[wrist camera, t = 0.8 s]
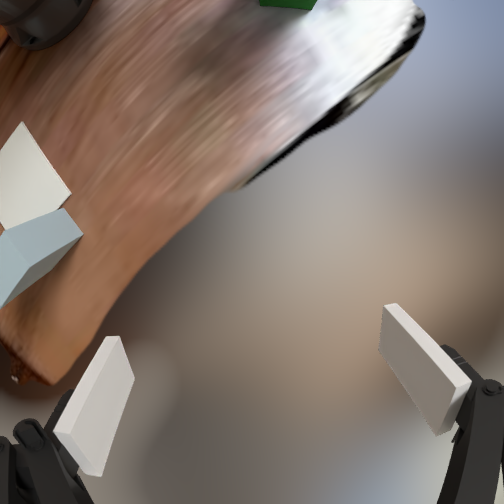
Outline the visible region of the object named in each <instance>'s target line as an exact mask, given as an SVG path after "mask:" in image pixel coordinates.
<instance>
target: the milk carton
mask: <svg viewBox="0 0 504 504" xmlns="http://www.w3.org/2000/svg"><path fill="white" fill-rule="evenodd" d="M259 2H260V6H273V7H288V8H298V9H308V10H312V8H313V7H314V5H315V3H316V2H317V0H259Z"/></svg>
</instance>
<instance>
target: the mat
mask: <svg viewBox="0 0 504 504" xmlns="http://www.w3.org/2000/svg"><path fill="white" fill-rule="evenodd" d="M71 194H72V193H71V192H70V190H69V189H68V188H67V186H66V185H65V184H64V182H63V181H62V179H61V178H60V177H59V175H58V174H57V172H56V171H55V169H54V168H53V167H52V165H51V164H50V162H49V161H48V159H47V158H46V156H45V155H44V153H43V152H42V150H41V149H40V147H39V146H38V144H37V143H36V141H35V140H34V138H33V137H32V135H31V133H30V132H29V130H28V129H27V127H26V125H25V124H24V122H23V121H22V122H21V123H20V124H19V126H18V127H17V128H16V129H15V131H14V132H13V134H12V135H11V136H10V138H9V139H8V140H7V142H6V143H5V145H4V146H3V148H2V149H1V151H0V222H1V224H2V226H3V227H4V229H5V230H7V229H10V228H12V227H14V226H17V225H19V224H22V223H24V222H27V221H29V220H32V219H35V218H37V217H40V216H42V215H45V214H48V213H50V212H53V211H56V210H58V209H59V207H60V206H61V205H62V204H63V203H64V202H65V201H66V199H67V198H68V197H69V196H70V195H71Z"/></svg>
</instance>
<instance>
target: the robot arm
mask: <svg viewBox="0 0 504 504" xmlns="http://www.w3.org/2000/svg"><path fill="white" fill-rule="evenodd" d="M91 3H92V0H0V25H2V26H3V27H4V28H5V30H6V31H7V33H8V34H9V36H10V37H11V39H12V40H13V41H14V43H16V44H17V45H18V46H20V47H23V48H25V49H27V50H33V51H34V50H41V49H45V48H47V47H50V46H52V45H54V44H55V43H57V42H59V41H60V40H62V39H63V38H64V37H65V36H67V35H68V34H69V33H70V32H71V31H72V30H73V29H74V28H75V27H76V26H77V25H78V24H79V23H80V21H81V20H82V19H83V17H84V16H85V15H86V13H87V11H88V9H89V8H90V6H91ZM378 350H379V352H380V353H381V354H382V356H383V358H384V359H385V360H386V362H387V363H388V365H389V366H390V368H391V369H392V371H393V372H394V373H395V375H396V376H397V378H398V379H399V381H400V382H401V384H402V385H403V387H404V388H405V390H406V391H407V393H408V394H409V396H410V397H411V399H412V400H413V402H414V403H415V405H416V406H417V408H418V409H419V411H420V412H421V414H422V415H423V417H424V419H425V420H426V422H427V423H428V425H429V426H430V428H431V429H432V431H433V433H434V434H435V435H436V436H438V435H441V434H443V433H445V432H447V431H450V430H451V428H452V426H453V424H454V422H455V421H456V422H457V423H458V425H459V428H458V430H457V432H456V434H455V436H454V438H453V440H452V443H453V442H454V441H455V442H454V447H453V451H452V455H451V459H450V462H449V466H448V470H447V473H446V477H445V480H444V483H443V486H442V490H441V493H440V496H439V498H438V501H437V504H494V500H495V494H496V490H497V484H498V478H499V472H500V464H501V465H502V474H503V485H504V386H502V385H501V383H499V382H497V381H495V380H492V379H486V380H484V379H483V378H482V377H481V376H480V375H479V374H478V373H477V372H476V371H475V370H474V369H473V368H472V367H471V366H470V365H469V364H468V363H467V362H466V361H465V360H464V359H463V358H462V357H461V356H460V355H459V354H458V353H457V351H456V350H455V349H453V348H451V347H449V346H447V345H442V346H438V344H437V343H436V342H435V341H434V340H433V339H432V338H431V337H430V336H429V335H428V334H427V333H426V332H425V331H424V330H423V329H422V328H421V327H420V326H419V325H418V324H417V323H416V322H415V321H414V320H413V319H412V318H411V317H410V316H409V315H408V314H407V313H406V312H405V311H404V310H403V309H402V308H401V307H400V306H399V305H398V304H397V303H394V304H389V305H384V306H383V314H382V324H381V333H380V341H379V349H378ZM134 380H135V378H134V375H133V372H132V370H131V367H130V365H129V362H128V359H127V356H126V353H125V351H124V348H123V345H122V342H121V339H120V336H107V337H106V338H105V339H104V341H103V343H102V345H101V346H100V348H99V350H98V351H97V353H96V354H95V356H94V358H93V360H92V361H91V363H90V365H89V366H88V368H87V370H86V372H85V373H84V375H83V377H82V378H81V380H80V382H79V384H78V385H77V387H76V389H75V390H72V389H70V390H68V391H67V392H66V393H65V394H64V395H63V396H62V397H61V399H60V400H59V402H58V406H56V407H55V409H54V412H53V413H52V415H51V416H50V418H49V420H48V422H47V424H46V425H45V427H44V429H43V428H42V427H41V425H40V424H39V422H38V421H37V420H35V419H30V418H29V419H24V420H22V421H21V422H19V423H18V424H17V425H16V426H15V428H14V430H13V436H14V437H15V439H16V440H17V441H18V443H19V444H14V445H12V444H11V443H10V442H9V440H8V439H7V438H6V437H4V436H0V504H94V502H93V501H92V499H91V497H90V495H89V493H88V491H87V490H86V488H85V486H84V484H83V482H82V480H81V478H80V476H78V474H77V471H78V468H79V467H80V468H81V469H82V471H83V472H84V473H85V474H87V475H93V476H99V477H102V473H103V470H104V467H105V464H106V460H107V457H108V454H109V451H110V448H111V445H112V442H113V439H114V436H115V433H116V430H117V427H118V424H119V421H120V418H121V416H122V412H123V410H124V407H125V404H126V401H127V399H128V396H129V393H130V390H131V388H132V385H133V382H134Z"/></svg>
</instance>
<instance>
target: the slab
mask: <svg viewBox="0 0 504 504" xmlns="http://www.w3.org/2000/svg"><path fill="white" fill-rule="evenodd" d="M82 235H83V233H82V232H81V230H80V229H79V228H78V226H77V225H76V224H75V222H74V221H73V220H72V218H71V217H70V216H69V215H68V213H67V212H66V210H65V209H64V208H61V209H59V210H56V211H53V212H50V213H48V214H45V215H42V216H40V217H37V218H35V219H32V220H29V221H27V222H24V223H22V224H19V225H17V226H14V227H12V228H10V229H7V230H5V231H4V232H3V233H2V235H1V237H0V309H1V308H2V307H4V306H5V305H6V304H7V303H9V302H10V301H11V300H12V299H14V298H15V297H16V296H17V295H19V294H20V293H21V292H23V291H24V290H25V289H27V288H28V287H29V286H31V285H32V284H33V283H35V282H36V281H37V280H39V279H40V278H41V277H43V276H44V275H45V274H47V273H48V272H49V271H51V270H52V269H53V267H54V266H55V265H56V264H57V263H58V262H59V261H60V259H61V258H62V257H63V256H64V255H65V254H66V253H67V252H68V251H69V249H70V248H71V247H72V246H73V245H74V244H75V243H76V242H77V241H78V240H79V239H80V238H81V237H82Z"/></svg>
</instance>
